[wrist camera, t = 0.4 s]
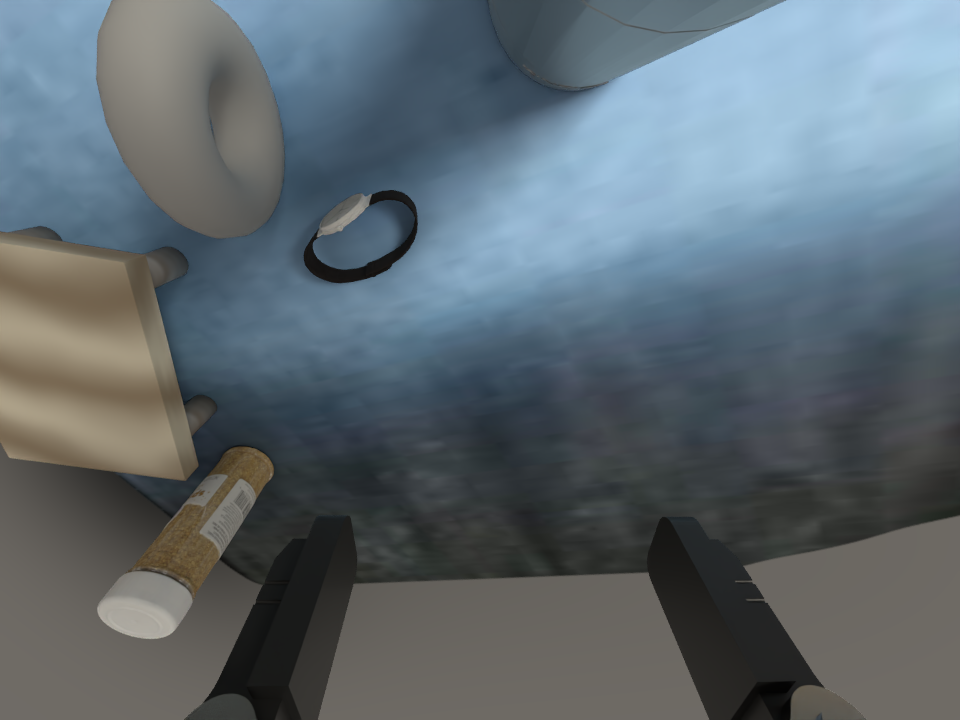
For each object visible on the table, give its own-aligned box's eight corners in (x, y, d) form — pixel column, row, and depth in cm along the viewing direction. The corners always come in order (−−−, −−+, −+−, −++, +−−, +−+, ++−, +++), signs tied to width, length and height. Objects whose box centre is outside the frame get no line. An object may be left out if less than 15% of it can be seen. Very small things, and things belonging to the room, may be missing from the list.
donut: (307, 221, 25) (211, 266, 17) (253, 217, 25) (128, 260, 17) (279, 18, 21) (123, -67, 12) (212, 13, 20) (5, -77, 12)
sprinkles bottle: (224, 438, 35) (87, 594, 23) (278, 451, 35) (171, 610, 23) (224, 474, 37) (98, 634, 25) (274, 486, 37) (175, 648, 26)
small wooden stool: (3, 204, 25) (-123, 223, 20) (197, 236, 26) (124, 262, 21) (84, 406, 33) (8, 457, 28) (232, 427, 34) (185, 480, 29)
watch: (397, 166, 24) (382, 171, 21) (438, 237, 26) (430, 251, 23) (298, 229, 26) (272, 242, 23) (343, 291, 28) (325, 310, 25)
